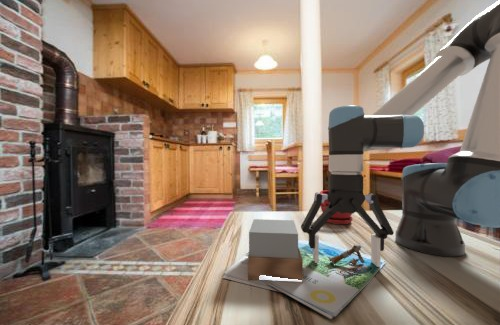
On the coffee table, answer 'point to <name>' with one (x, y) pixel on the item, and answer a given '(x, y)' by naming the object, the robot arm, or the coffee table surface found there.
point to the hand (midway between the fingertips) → (345, 263)
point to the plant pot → (337, 217)
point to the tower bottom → (275, 267)
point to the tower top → (273, 239)
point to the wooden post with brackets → (347, 254)
